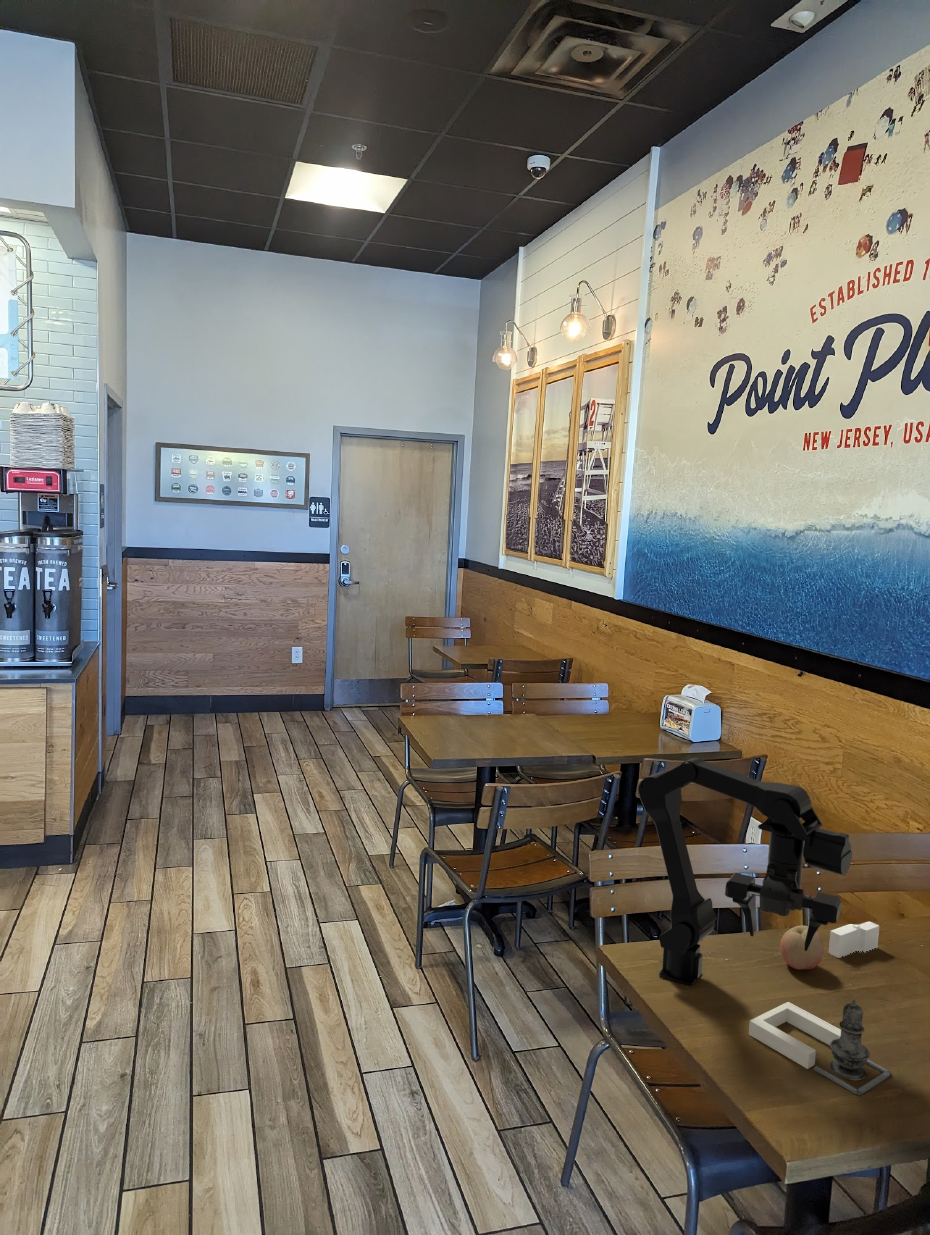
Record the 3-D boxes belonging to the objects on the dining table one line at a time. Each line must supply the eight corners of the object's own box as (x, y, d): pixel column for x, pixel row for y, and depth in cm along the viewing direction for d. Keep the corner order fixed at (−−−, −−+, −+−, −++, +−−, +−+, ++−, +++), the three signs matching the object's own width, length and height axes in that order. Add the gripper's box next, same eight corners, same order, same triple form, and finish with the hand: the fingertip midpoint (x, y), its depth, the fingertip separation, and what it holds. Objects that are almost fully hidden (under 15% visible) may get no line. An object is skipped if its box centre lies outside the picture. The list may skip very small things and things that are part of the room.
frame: (814, 1069, 139) (814, 1067, 139) (847, 1050, 145) (847, 1048, 145) (858, 1096, 133) (859, 1093, 133) (891, 1074, 139) (891, 1072, 139)
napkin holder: (827, 963, 175) (829, 936, 174) (811, 937, 186) (813, 911, 185) (904, 970, 173) (907, 943, 172) (884, 943, 184) (886, 917, 184)
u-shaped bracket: (748, 1034, 148) (749, 1020, 148) (786, 1014, 155) (787, 1001, 154) (807, 1069, 139) (808, 1054, 139) (845, 1046, 146) (846, 1032, 145)
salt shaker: (872, 1084, 136) (878, 1012, 135) (832, 1078, 137) (838, 1006, 136) (863, 1061, 142) (869, 992, 140) (825, 1056, 143) (830, 987, 142)
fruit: (776, 954, 177) (779, 917, 176) (817, 959, 175) (820, 922, 174) (782, 974, 169) (785, 935, 168) (825, 980, 167) (829, 940, 167)
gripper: (719, 860, 150) (713, 946, 152) (835, 887, 141) (827, 978, 143) (736, 841, 160) (730, 922, 162) (845, 865, 150) (837, 950, 152)
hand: (778, 942), depth 154 cm, fingers open, 9 cm apart
